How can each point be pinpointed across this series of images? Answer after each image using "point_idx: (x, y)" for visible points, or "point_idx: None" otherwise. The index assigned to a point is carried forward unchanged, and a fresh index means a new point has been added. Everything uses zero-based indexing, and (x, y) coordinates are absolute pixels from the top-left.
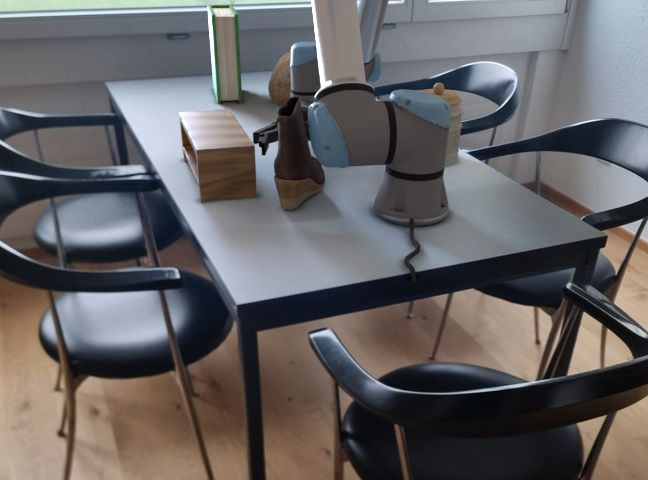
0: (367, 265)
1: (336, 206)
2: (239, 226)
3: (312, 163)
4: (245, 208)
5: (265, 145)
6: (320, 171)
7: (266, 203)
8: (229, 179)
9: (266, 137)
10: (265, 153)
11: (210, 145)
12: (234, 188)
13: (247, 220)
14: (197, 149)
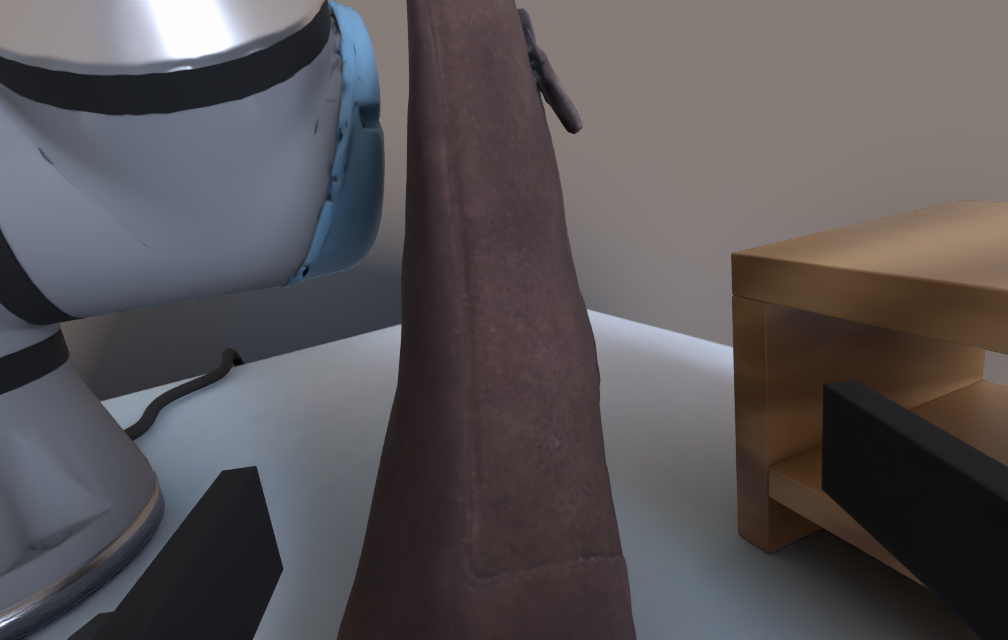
0: (309, 364)
1: (311, 545)
2: (651, 384)
3: (395, 395)
4: (710, 451)
5: (849, 437)
6: (343, 619)
7: (649, 497)
8: None
9: (968, 471)
10: (836, 492)
11: (966, 214)
12: None
13: (648, 405)
14: (961, 200)
